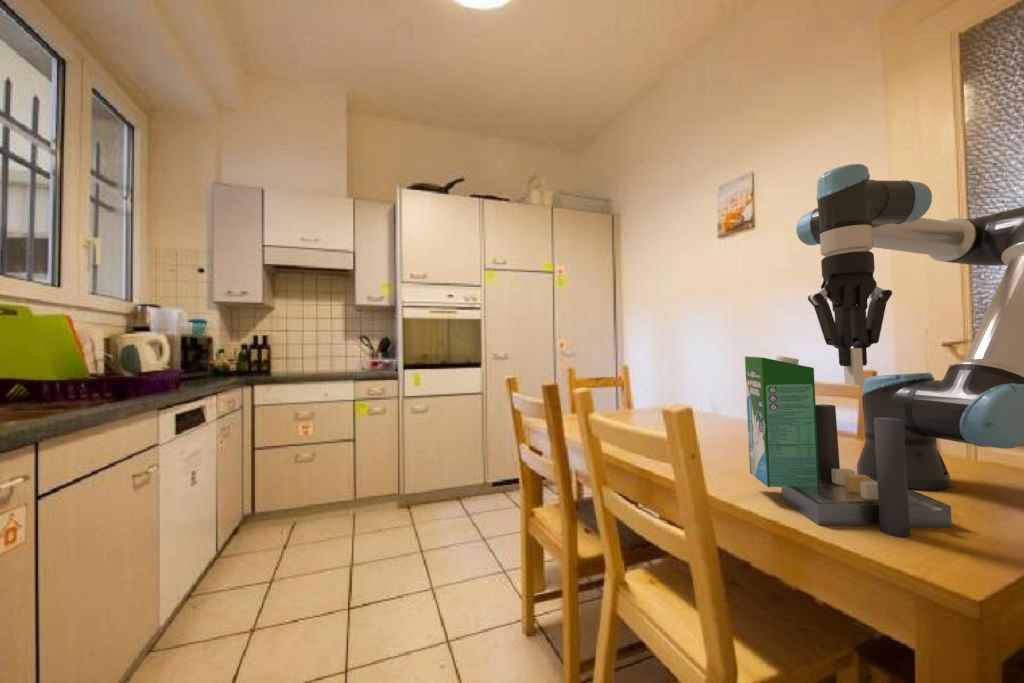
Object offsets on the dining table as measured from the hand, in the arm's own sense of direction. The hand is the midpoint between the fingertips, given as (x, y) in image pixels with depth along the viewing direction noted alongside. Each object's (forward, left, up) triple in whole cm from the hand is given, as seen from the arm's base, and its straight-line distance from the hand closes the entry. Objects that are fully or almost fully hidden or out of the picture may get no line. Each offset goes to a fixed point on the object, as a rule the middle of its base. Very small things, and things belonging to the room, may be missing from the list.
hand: (854, 384), depth 77 cm
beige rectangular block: (0, +4, -19) cm, 20 cm away
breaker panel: (0, 0, -23) cm, 23 cm away
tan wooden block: (0, 0, -19) cm, 19 cm away
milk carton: (+9, -8, -20) cm, 23 cm away
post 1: (0, -8, -23) cm, 24 cm away
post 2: (0, +8, -23) cm, 24 cm away
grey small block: (0, -4, -19) cm, 20 cm away
